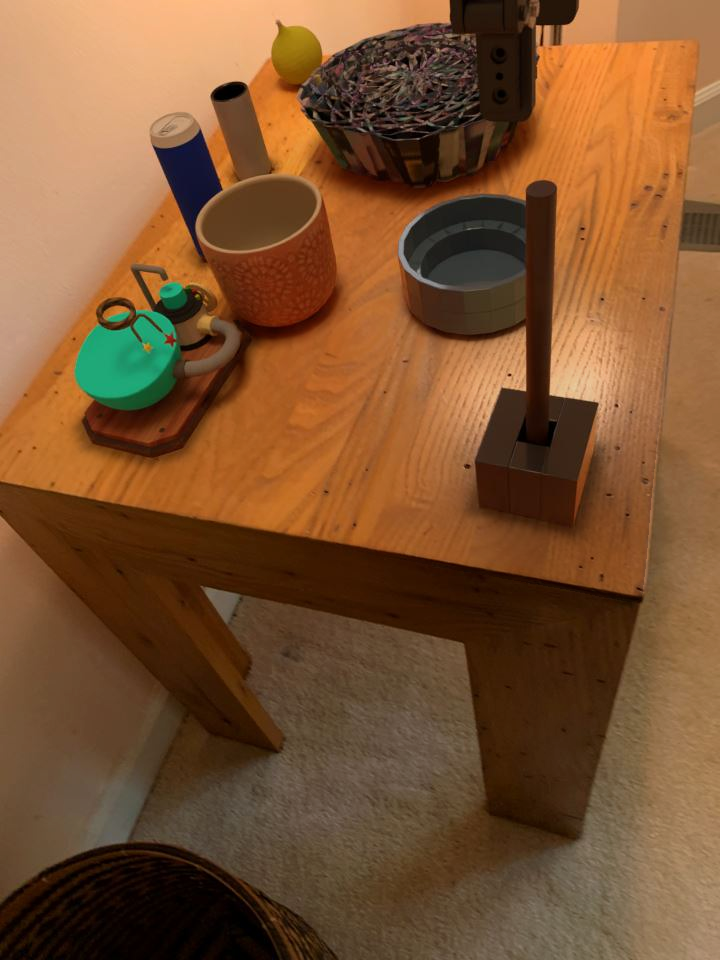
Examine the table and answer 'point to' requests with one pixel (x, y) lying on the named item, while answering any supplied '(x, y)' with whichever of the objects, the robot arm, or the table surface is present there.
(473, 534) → the table surface
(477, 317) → the bowl
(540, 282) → the stirring stick
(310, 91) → the decorative bowl
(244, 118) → the cardboard tube
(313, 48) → the yellow oval fruit
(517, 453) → the holder
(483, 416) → the table surface
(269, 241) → the planter
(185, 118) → the beverage can
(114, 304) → the contraption on wooden base
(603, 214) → the table surface
